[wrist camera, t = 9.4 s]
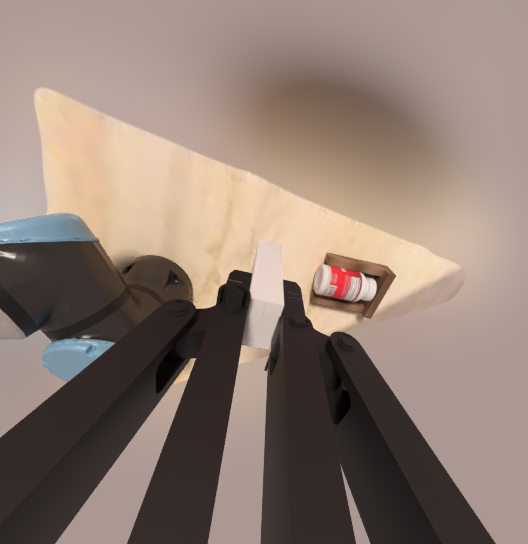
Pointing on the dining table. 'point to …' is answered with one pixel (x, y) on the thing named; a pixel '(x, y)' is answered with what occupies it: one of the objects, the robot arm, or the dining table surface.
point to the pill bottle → (343, 284)
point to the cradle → (369, 270)
